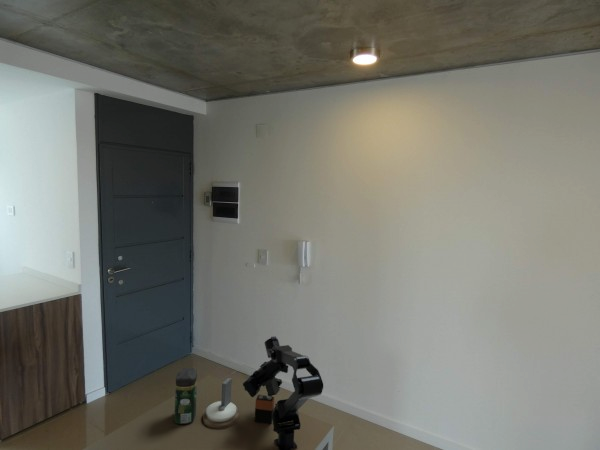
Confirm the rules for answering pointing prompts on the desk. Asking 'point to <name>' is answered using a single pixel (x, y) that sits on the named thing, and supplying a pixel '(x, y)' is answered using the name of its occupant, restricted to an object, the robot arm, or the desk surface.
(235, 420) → the dial base
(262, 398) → the battery
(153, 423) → the desk surface
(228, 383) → the dial
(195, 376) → the coffee jar
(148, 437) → the desk surface
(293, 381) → the robot arm
